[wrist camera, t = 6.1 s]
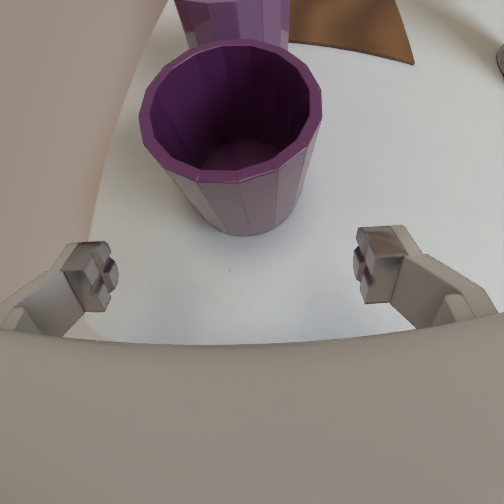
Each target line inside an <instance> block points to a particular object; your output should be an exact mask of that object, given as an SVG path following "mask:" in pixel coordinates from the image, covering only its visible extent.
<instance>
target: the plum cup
mask: <svg viewBox="0 0 504 504" xmlns="http://www.w3.org/2000/svg"><path fill="white" fill-rule="evenodd" d="M321 120H322V97H321V89H320V87H319V85H318V83H317V82H316V80H315V78H314V76H313V75H312V73H311V71H310V70H309V68H308V67H307V65H306V64H305V63H303V62H302V61H301V60H299V59H298V58H297V57H295V56H294V55H292V54H291V53H289V52H288V51H287V50H285V49H284V48H282V47H278V46H275V45H272V44H268V43H265V42H261V41H258V40H253V39H226V40H218V41H215V42H211V43H208V44H205V45H201V46H198V47H195V48H192V49H190V50H188V51H187V52H185V53H183V54H182V55H180V56H179V57H177V58H176V59H174V60H173V61H171V62H170V63H168V64H167V65H165V67H163V69H162V70H161V71H160V72H159V74H158V75H157V76H156V77H155V79H154V80H153V81H152V82H151V84H150V85H149V86H148V88H147V90H146V92H145V95H144V98H143V102H142V105H141V109H140V112H139V123H140V129H141V134H142V139H143V144H144V146H145V147H146V148H147V149H148V151H149V152H150V153H151V154H152V156H153V157H154V158H155V159H156V160H157V162H158V163H159V164H160V165H161V167H162V168H163V169H164V170H165V172H166V173H167V174H168V175H169V176H170V178H171V179H172V180H173V181H174V183H175V184H176V185H177V186H178V187H179V189H180V190H181V191H182V192H183V193H184V195H185V196H186V197H187V198H188V200H189V201H190V202H191V203H192V204H193V206H194V207H195V208H196V209H197V210H198V212H199V213H200V214H201V215H202V216H203V218H204V219H205V220H206V221H207V222H208V223H209V224H210V225H212V226H213V227H215V228H216V229H218V230H220V231H222V232H224V233H227V234H230V235H234V236H256V235H260V234H263V233H266V232H268V231H271V230H272V229H274V228H276V227H277V226H279V225H280V224H281V223H283V222H284V221H285V220H286V219H287V218H288V216H289V215H290V214H291V213H292V211H293V209H294V207H295V205H296V203H297V200H298V198H299V196H300V194H301V190H302V187H303V184H304V180H305V177H306V173H307V170H308V166H309V163H310V159H311V156H312V152H313V149H314V145H315V142H316V138H317V135H318V131H319V128H320V124H321Z"/></svg>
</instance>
